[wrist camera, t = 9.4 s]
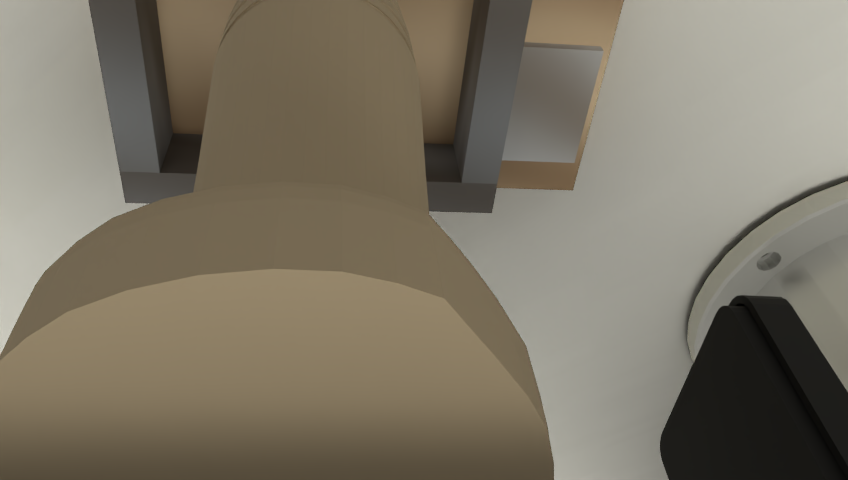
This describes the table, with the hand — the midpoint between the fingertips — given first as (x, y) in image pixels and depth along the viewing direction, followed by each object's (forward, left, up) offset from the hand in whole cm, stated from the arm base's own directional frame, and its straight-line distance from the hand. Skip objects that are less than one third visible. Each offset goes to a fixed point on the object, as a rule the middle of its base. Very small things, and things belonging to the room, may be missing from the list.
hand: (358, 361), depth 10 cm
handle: (0, +1, -12) cm, 12 cm away
